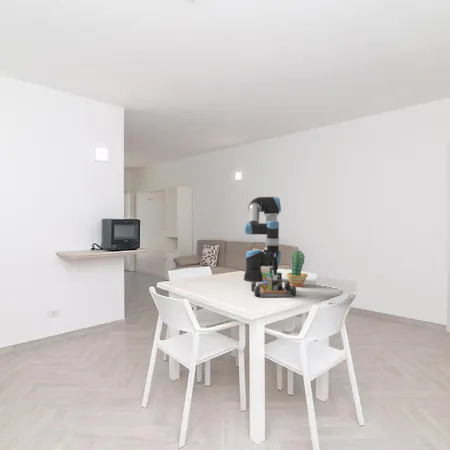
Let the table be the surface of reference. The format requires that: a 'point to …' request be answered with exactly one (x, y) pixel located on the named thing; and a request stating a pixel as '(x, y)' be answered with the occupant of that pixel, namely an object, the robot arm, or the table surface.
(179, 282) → the table surface
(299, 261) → the potted cactus
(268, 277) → the chalk box
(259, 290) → the chassis
